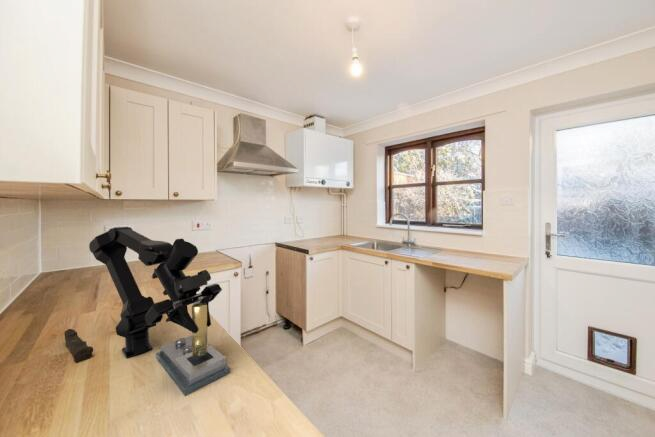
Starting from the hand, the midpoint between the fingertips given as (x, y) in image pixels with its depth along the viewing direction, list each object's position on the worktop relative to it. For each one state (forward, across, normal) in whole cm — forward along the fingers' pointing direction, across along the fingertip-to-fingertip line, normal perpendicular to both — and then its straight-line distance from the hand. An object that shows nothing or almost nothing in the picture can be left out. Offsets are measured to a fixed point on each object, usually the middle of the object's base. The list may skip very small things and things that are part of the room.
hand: (203, 328), depth 65 cm
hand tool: (-23, -8, +42) cm, 48 cm away
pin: (+4, 0, +6) cm, 7 cm away
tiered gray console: (+4, +2, +14) cm, 14 cm away
